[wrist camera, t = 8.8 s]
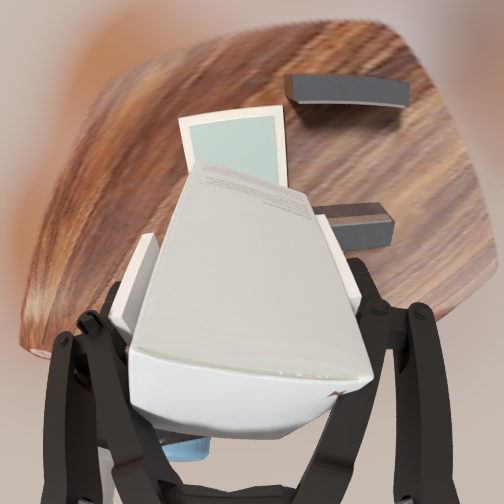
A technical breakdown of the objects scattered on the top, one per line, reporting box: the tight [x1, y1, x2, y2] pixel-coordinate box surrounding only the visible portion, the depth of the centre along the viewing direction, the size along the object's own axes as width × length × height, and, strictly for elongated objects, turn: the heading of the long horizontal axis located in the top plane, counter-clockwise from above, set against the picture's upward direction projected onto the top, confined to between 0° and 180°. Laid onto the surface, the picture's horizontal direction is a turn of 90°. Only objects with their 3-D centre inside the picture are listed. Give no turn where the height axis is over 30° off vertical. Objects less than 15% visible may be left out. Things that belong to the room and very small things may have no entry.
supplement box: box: [128, 160, 374, 440], centre depth 13 cm, size 7×7×13 cm
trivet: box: [178, 105, 287, 187], centre depth 30 cm, size 11×11×1 cm
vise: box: [284, 74, 410, 256], centre depth 29 cm, size 12×24×5 cm, turn 6°
